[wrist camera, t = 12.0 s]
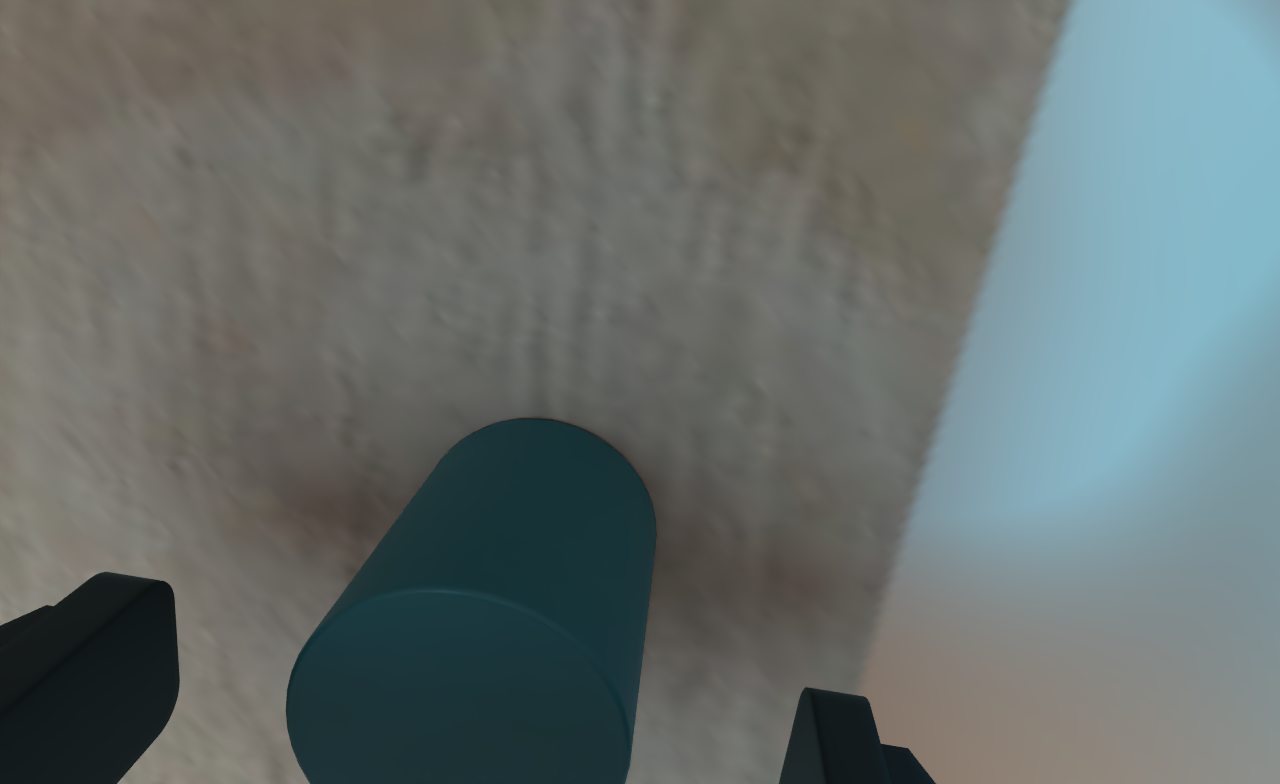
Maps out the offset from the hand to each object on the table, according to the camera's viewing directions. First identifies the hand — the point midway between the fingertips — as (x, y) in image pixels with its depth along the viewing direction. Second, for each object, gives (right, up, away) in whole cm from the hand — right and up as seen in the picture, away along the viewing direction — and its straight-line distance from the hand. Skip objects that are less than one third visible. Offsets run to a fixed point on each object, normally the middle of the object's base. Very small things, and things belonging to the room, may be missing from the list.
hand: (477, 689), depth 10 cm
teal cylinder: (0, +1, +4) cm, 4 cm away
